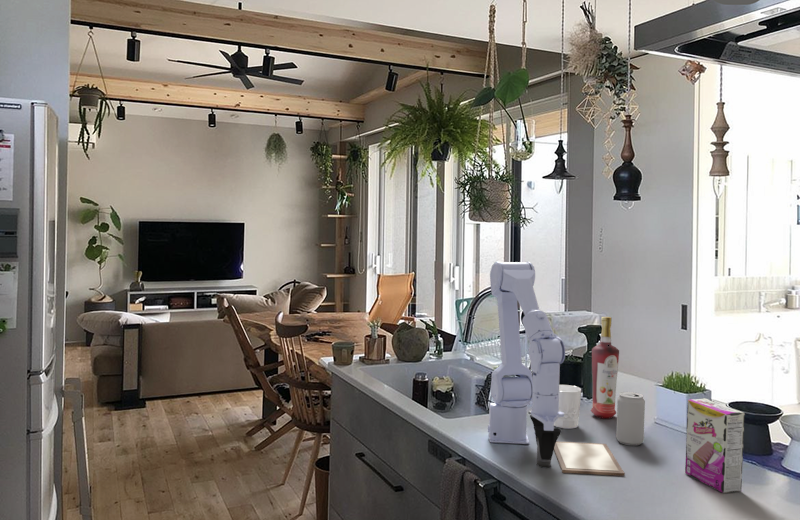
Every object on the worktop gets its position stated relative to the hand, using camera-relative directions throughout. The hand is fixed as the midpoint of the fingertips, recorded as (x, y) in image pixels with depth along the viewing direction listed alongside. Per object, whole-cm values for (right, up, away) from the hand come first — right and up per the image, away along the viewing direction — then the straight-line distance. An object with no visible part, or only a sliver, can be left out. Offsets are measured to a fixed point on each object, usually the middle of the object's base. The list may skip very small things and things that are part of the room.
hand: (544, 453), depth 144 cm
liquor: (+25, -1, +39) cm, 46 cm away
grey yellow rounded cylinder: (0, -3, 0) cm, 3 cm away
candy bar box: (+33, -4, -8) cm, 34 cm away
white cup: (+12, -2, +30) cm, 32 cm away
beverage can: (+25, -3, +17) cm, 30 cm away
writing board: (+11, -3, +5) cm, 12 cm away
